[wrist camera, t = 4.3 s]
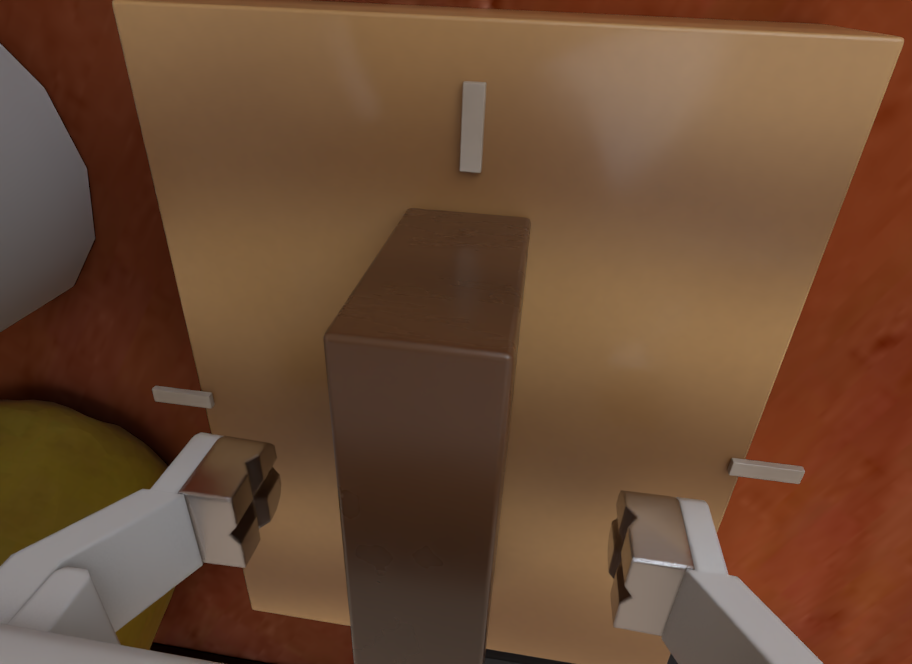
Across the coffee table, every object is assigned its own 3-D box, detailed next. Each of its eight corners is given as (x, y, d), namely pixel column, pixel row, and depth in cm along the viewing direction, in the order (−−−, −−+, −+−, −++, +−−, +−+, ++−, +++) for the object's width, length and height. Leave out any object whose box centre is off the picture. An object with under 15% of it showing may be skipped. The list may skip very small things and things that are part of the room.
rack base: (153, -8, 12) (39, -4, 10) (890, 26, 11) (1003, 42, 8) (259, 526, 20) (214, 609, 18) (683, 590, 19) (704, 692, 16)
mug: (-217, 363, 17) (-623, 800, 10) (166, 340, 18) (62, 700, 11) (-13, 565, 25) (-150, 882, 18) (239, 537, 27) (207, 818, 20)
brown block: (407, 205, 10) (312, 345, 6) (531, 216, 10) (513, 368, 6) (410, 572, 16) (357, 777, 12) (493, 584, 15) (469, 799, 11)
